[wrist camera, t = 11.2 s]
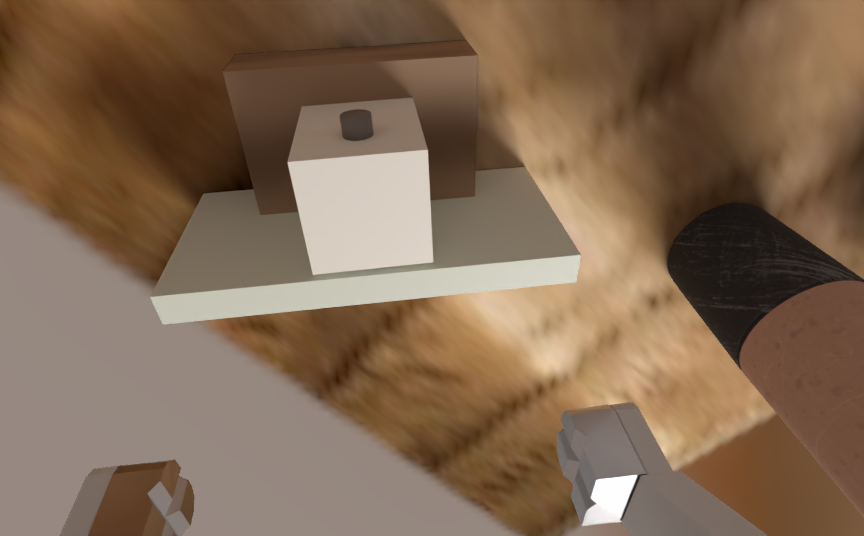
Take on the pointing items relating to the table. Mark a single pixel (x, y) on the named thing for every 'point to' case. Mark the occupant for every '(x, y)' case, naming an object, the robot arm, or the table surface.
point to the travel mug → (784, 327)
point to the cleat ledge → (355, 82)
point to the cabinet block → (362, 185)
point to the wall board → (301, 290)
